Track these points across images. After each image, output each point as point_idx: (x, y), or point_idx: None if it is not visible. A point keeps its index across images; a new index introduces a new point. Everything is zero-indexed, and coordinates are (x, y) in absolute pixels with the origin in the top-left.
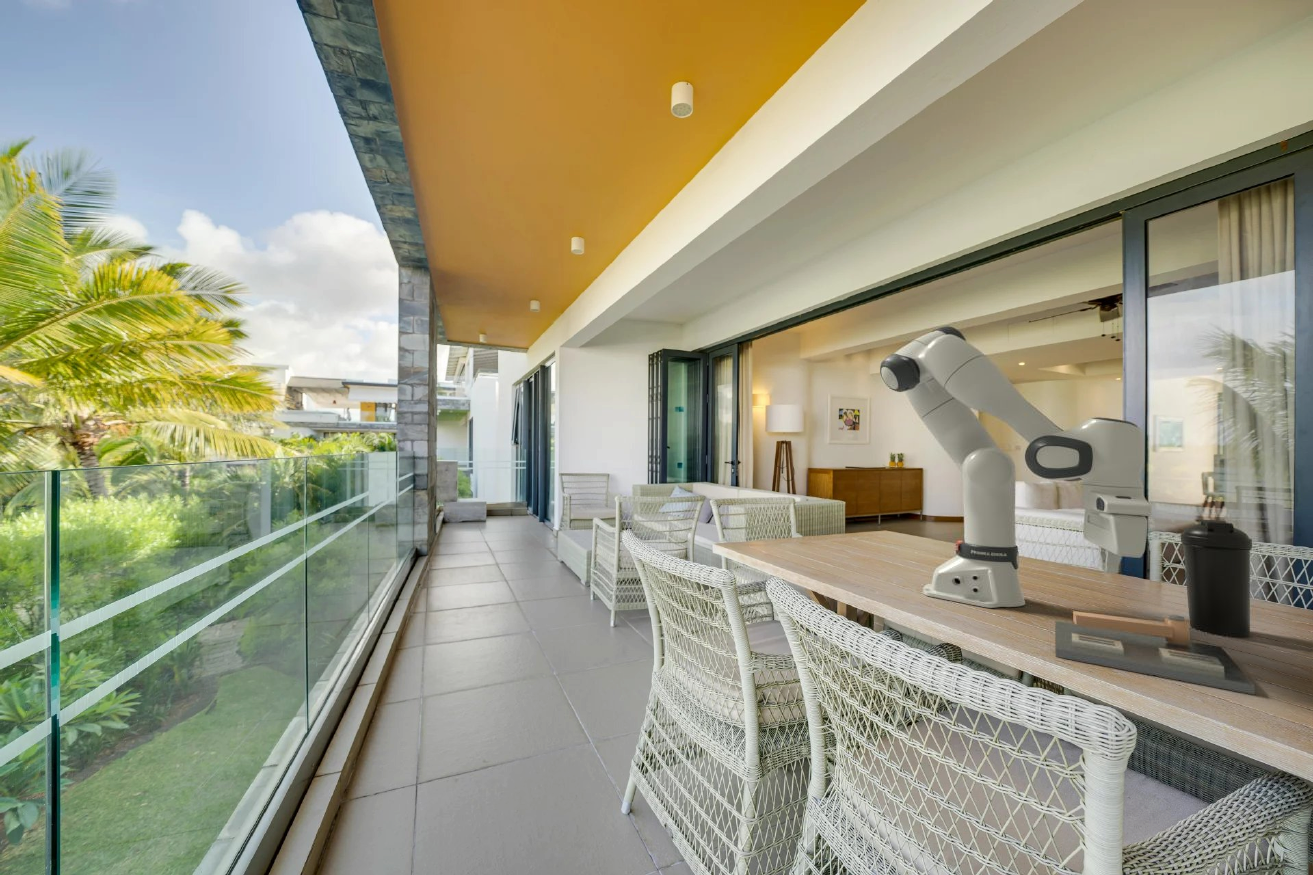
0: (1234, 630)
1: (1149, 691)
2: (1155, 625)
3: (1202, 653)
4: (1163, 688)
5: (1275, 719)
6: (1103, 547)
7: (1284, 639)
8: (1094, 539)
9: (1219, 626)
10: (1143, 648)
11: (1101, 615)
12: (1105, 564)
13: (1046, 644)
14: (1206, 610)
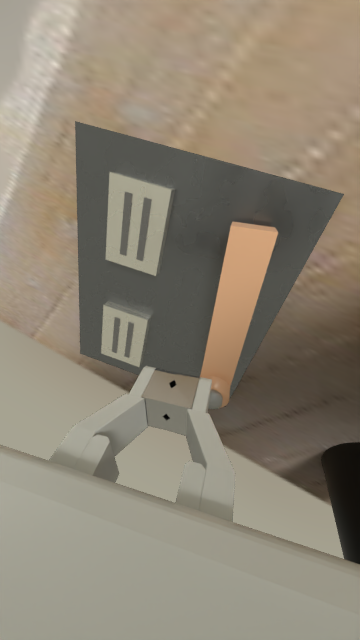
0: (324, 467)
1: (19, 238)
2: (204, 358)
3: (179, 369)
4: (43, 262)
5: (28, 325)
6: (26, 463)
7: (324, 491)
8: (220, 586)
9: (333, 463)
10: (167, 305)
11: (248, 291)
12: (145, 390)
13: (168, 123)
14: (354, 483)
